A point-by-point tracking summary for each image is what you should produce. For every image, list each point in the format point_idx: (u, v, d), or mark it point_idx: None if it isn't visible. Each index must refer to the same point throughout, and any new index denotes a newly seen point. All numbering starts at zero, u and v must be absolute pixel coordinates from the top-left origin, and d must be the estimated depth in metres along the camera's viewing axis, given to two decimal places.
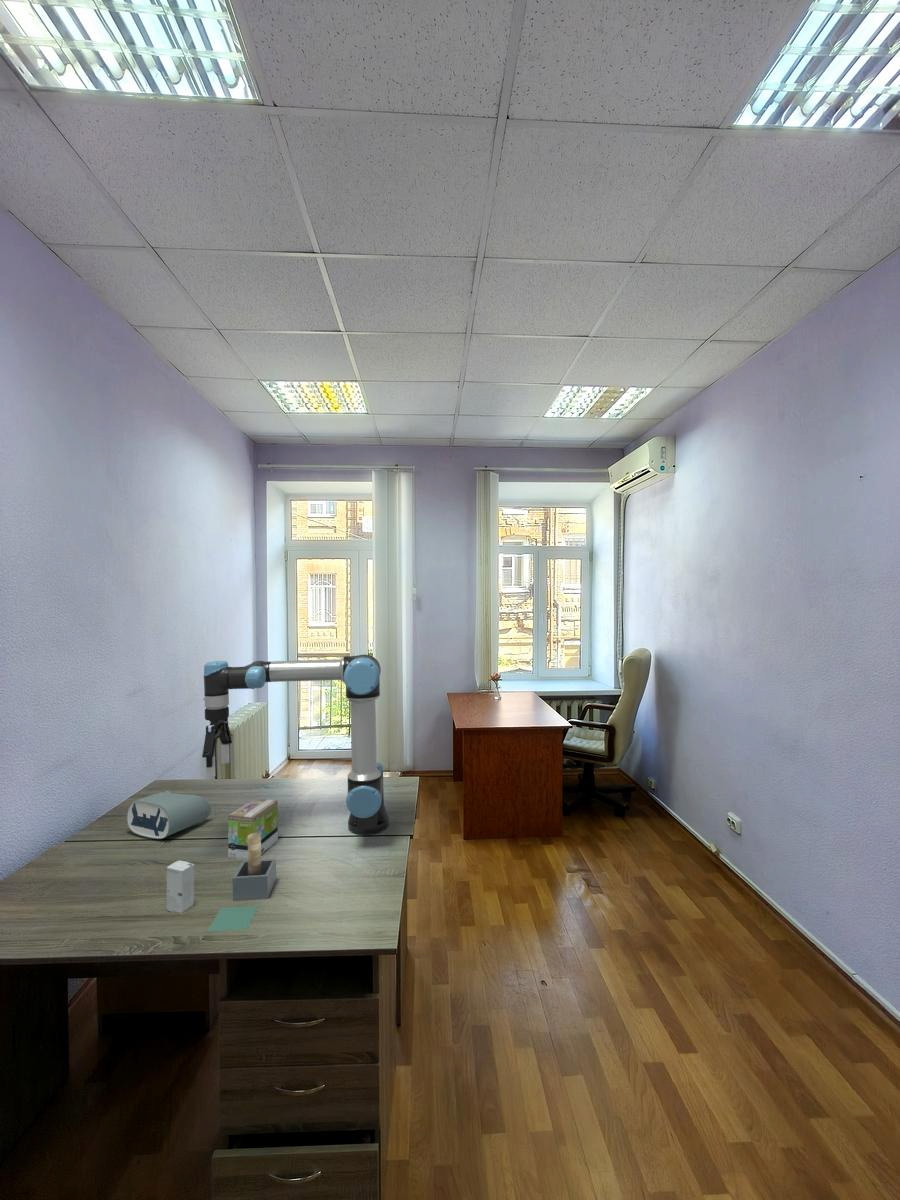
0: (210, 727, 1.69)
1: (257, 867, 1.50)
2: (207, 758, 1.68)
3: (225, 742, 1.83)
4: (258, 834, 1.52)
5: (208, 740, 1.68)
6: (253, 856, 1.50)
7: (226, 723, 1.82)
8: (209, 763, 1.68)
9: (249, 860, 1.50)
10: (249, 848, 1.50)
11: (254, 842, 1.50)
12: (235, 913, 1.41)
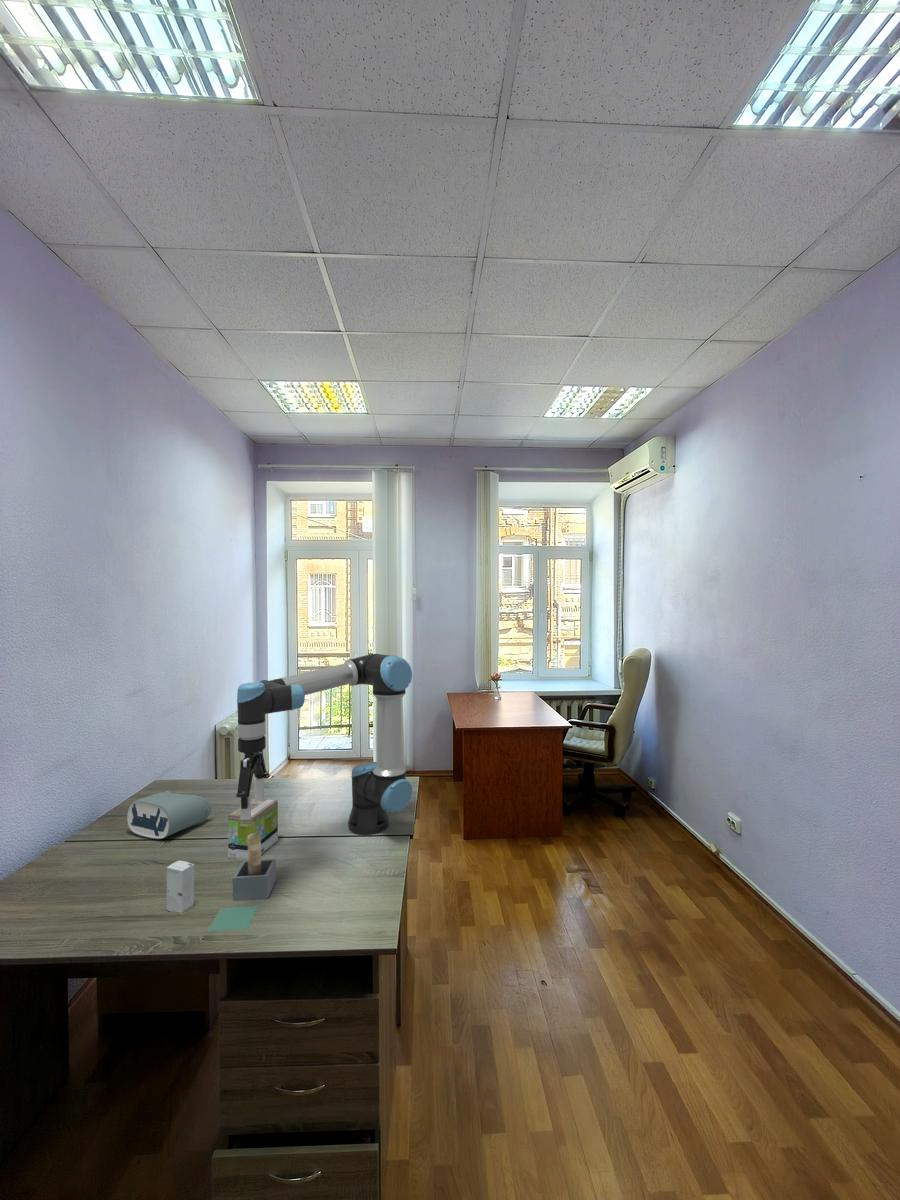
0: (245, 761, 1.45)
1: (257, 867, 1.50)
2: (242, 798, 1.43)
3: (259, 776, 1.58)
4: (258, 834, 1.52)
5: (244, 776, 1.43)
6: (253, 856, 1.50)
7: (261, 754, 1.57)
8: (244, 804, 1.43)
9: (249, 860, 1.50)
10: (249, 848, 1.50)
11: (254, 842, 1.50)
12: (235, 913, 1.41)
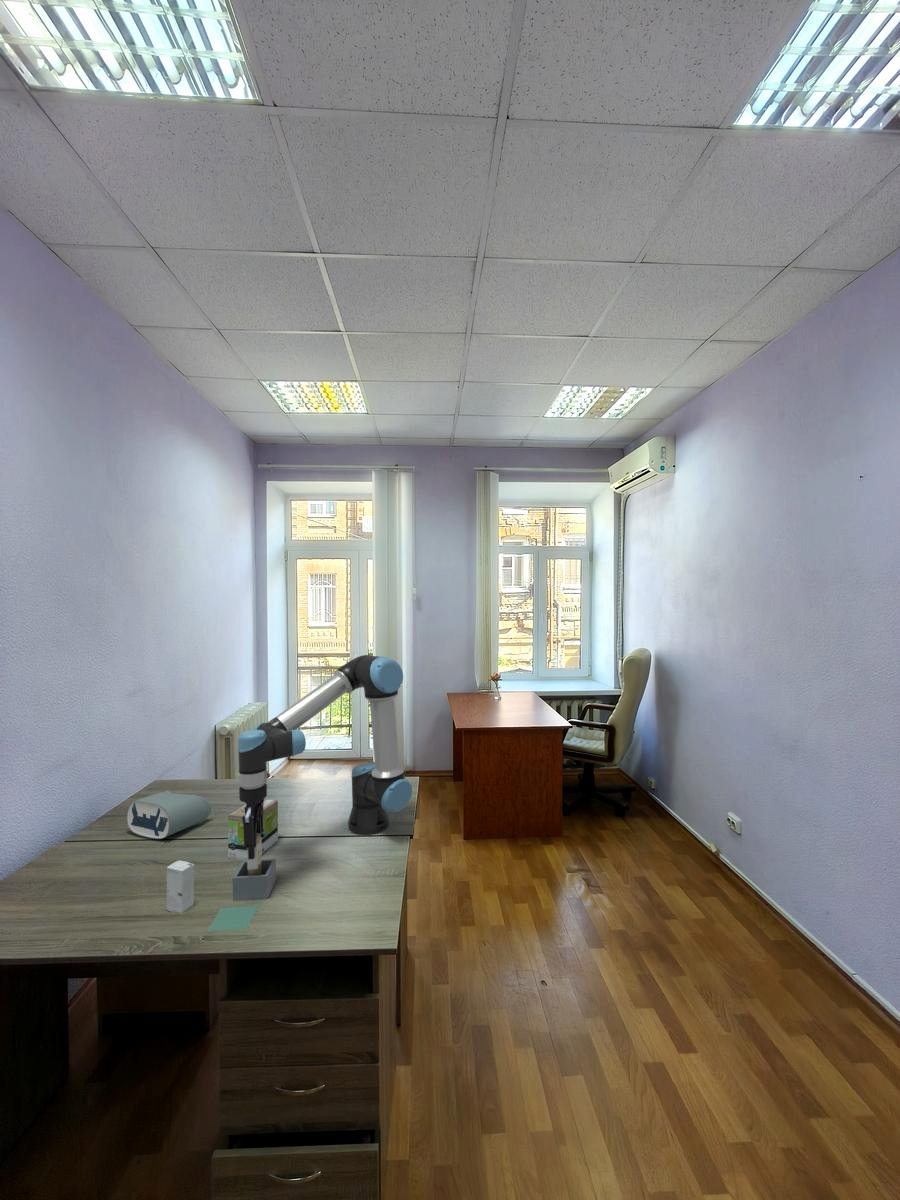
0: (247, 818, 1.45)
1: None
2: (249, 849, 1.48)
3: None
4: (258, 834, 1.52)
5: (248, 831, 1.46)
6: None
7: (261, 806, 1.56)
8: (251, 854, 1.48)
9: None
10: None
11: None
12: (235, 913, 1.41)
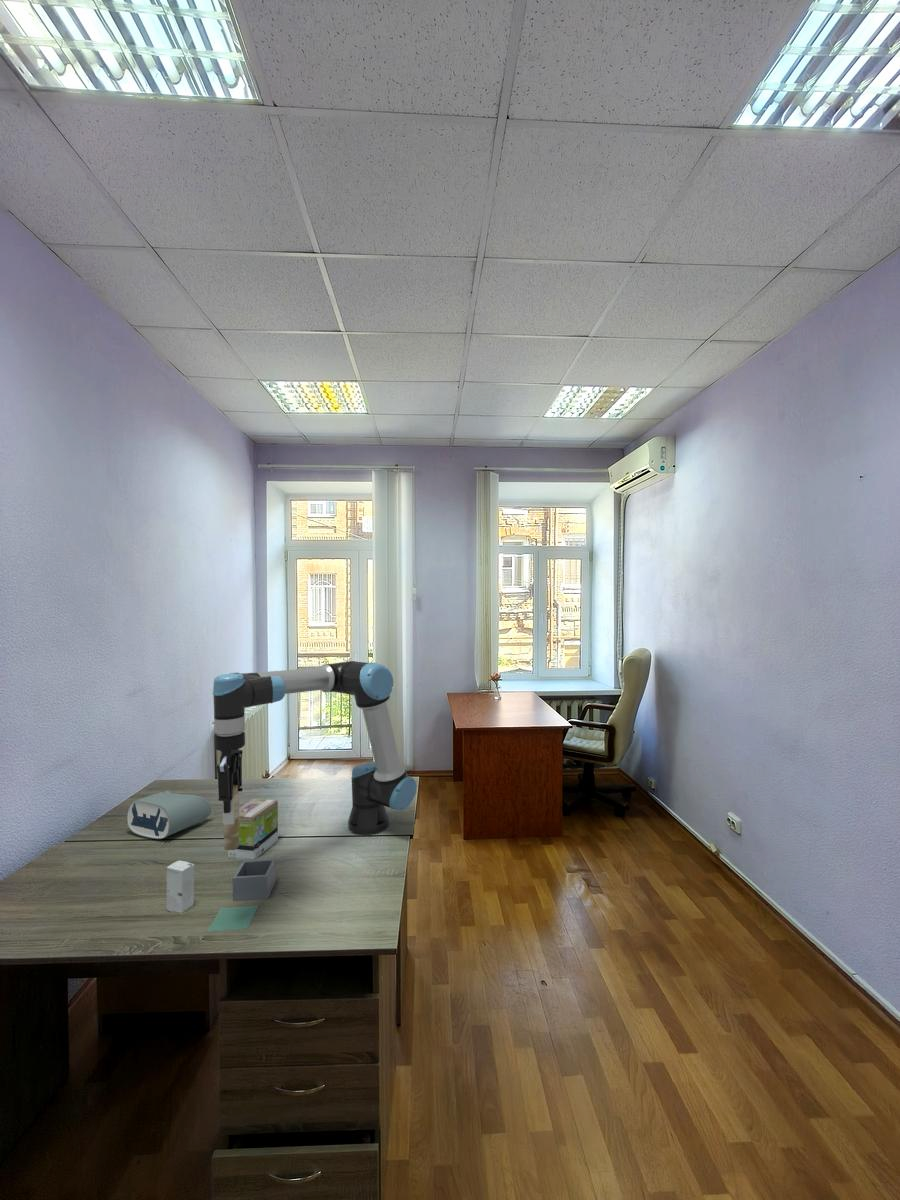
0: (222, 767, 1.32)
1: None
2: (224, 802, 1.35)
3: None
4: (235, 786, 1.39)
5: (223, 781, 1.33)
6: None
7: (240, 758, 1.43)
8: (227, 808, 1.35)
9: None
10: None
11: None
12: (235, 913, 1.41)
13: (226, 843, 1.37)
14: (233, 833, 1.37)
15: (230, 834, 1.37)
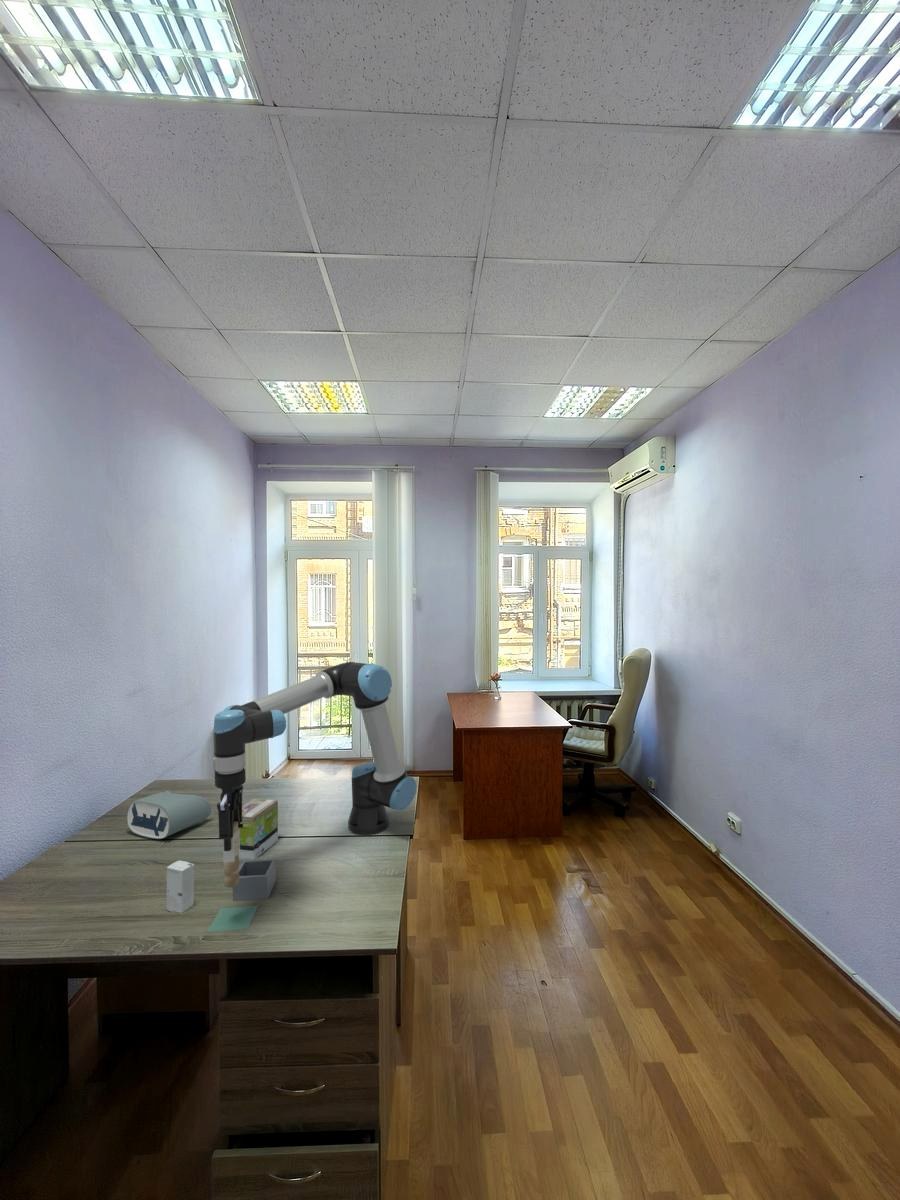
0: (223, 806, 1.32)
1: None
2: (225, 840, 1.34)
3: None
4: (235, 822, 1.39)
5: (223, 820, 1.32)
6: None
7: (240, 793, 1.43)
8: (227, 846, 1.35)
9: None
10: None
11: None
12: (235, 913, 1.41)
13: (226, 880, 1.37)
14: (233, 870, 1.37)
15: (230, 872, 1.37)
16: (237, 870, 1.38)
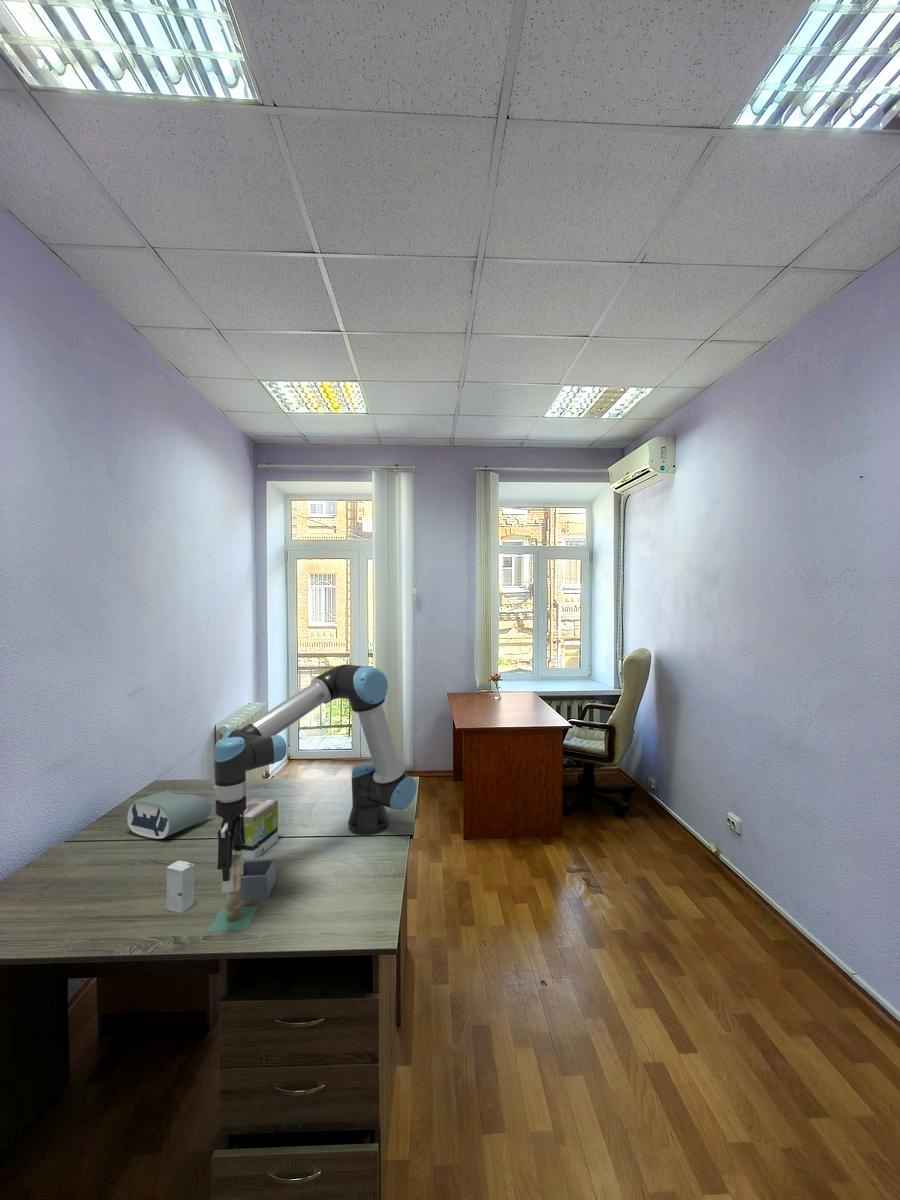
0: (223, 832, 1.32)
1: (236, 893, 1.37)
2: (223, 870, 1.33)
3: (238, 848, 1.43)
4: (237, 856, 1.39)
5: (223, 848, 1.32)
6: None
7: (241, 818, 1.44)
8: (226, 876, 1.33)
9: None
10: None
11: (233, 865, 1.37)
12: None
13: (228, 915, 1.37)
14: (235, 904, 1.37)
15: (232, 906, 1.37)
16: (239, 904, 1.38)
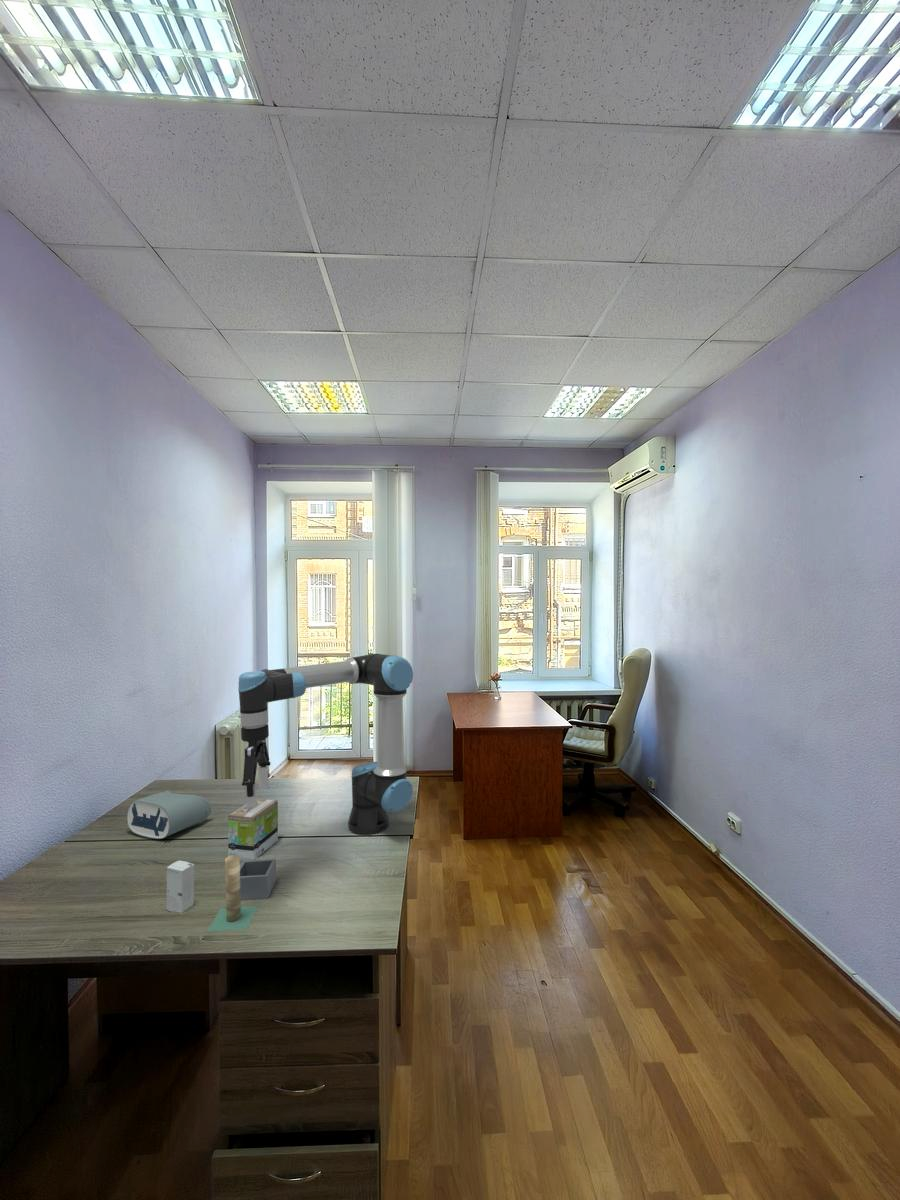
0: (250, 750, 1.45)
1: (235, 893, 1.37)
2: (248, 786, 1.43)
3: (263, 764, 1.59)
4: (237, 856, 1.39)
5: (248, 765, 1.43)
6: (230, 881, 1.37)
7: (264, 743, 1.57)
8: (250, 792, 1.43)
9: (226, 885, 1.37)
10: (227, 872, 1.37)
11: (232, 866, 1.37)
12: None
13: (228, 915, 1.37)
14: (235, 904, 1.37)
15: (231, 907, 1.37)
16: (239, 904, 1.38)
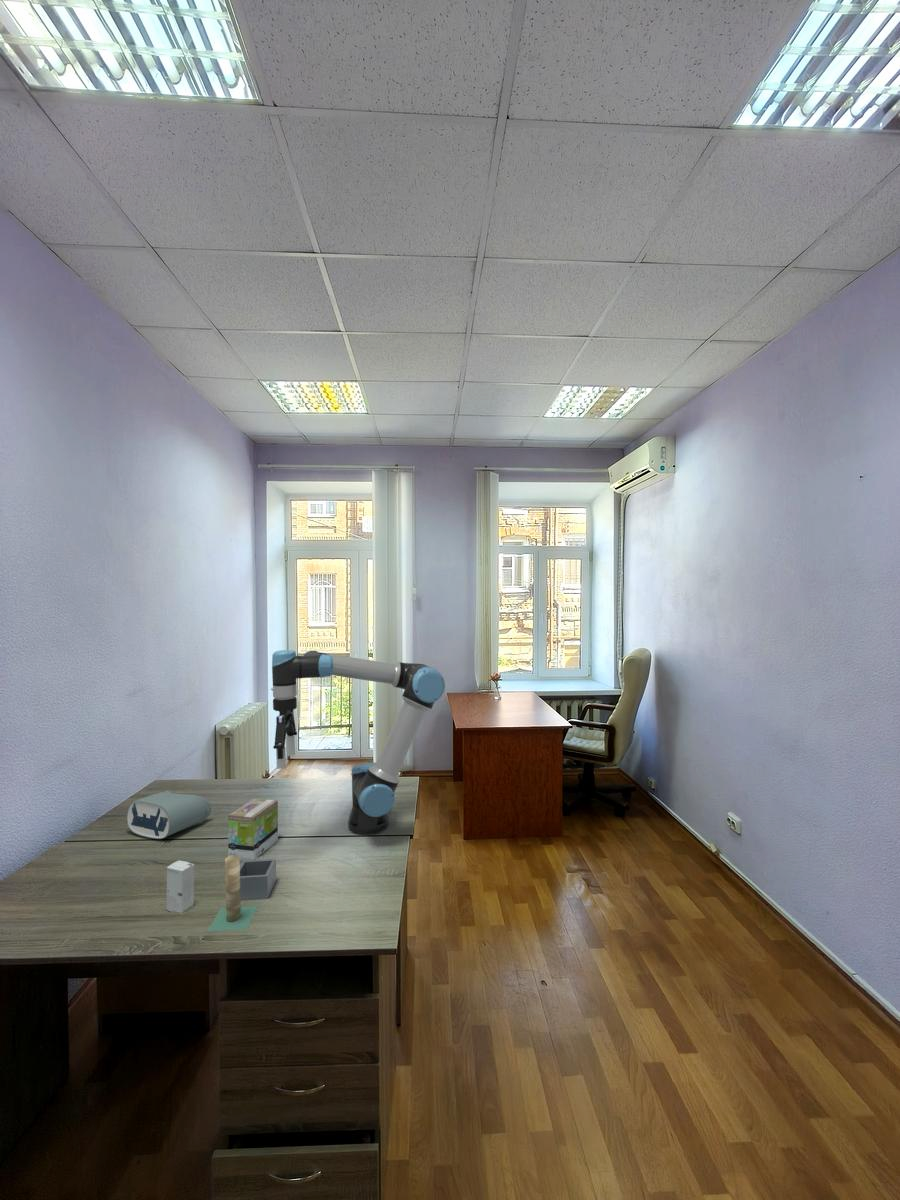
0: (281, 718, 1.65)
1: (235, 894, 1.37)
2: (278, 749, 1.63)
3: (290, 734, 1.79)
4: (237, 857, 1.39)
5: (279, 730, 1.64)
6: (230, 881, 1.37)
7: (292, 714, 1.77)
8: (280, 754, 1.63)
9: (226, 885, 1.37)
10: (226, 872, 1.37)
11: (232, 866, 1.37)
12: None
13: (228, 915, 1.37)
14: (235, 905, 1.37)
15: (231, 907, 1.37)
16: (239, 904, 1.38)
